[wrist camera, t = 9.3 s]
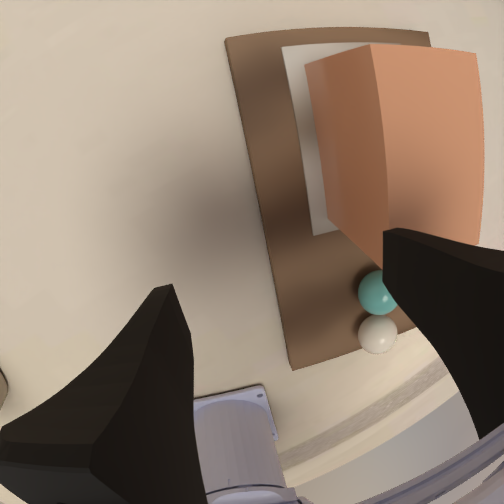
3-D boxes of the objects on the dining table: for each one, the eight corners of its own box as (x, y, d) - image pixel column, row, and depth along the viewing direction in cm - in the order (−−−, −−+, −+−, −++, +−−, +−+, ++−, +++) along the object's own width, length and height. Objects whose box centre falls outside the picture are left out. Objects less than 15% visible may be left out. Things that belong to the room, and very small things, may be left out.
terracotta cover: (404, 200, 19) (478, 243, 13) (327, 218, 19) (388, 276, 12) (391, 60, 15) (475, 53, 9) (304, 64, 15) (369, 44, 8)
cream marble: (384, 330, 24) (402, 354, 21) (351, 342, 24) (367, 368, 21) (386, 301, 23) (406, 324, 20) (351, 313, 22) (369, 338, 20)
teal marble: (387, 292, 22) (407, 315, 20) (351, 304, 22) (369, 330, 19) (388, 257, 21) (411, 278, 18) (349, 268, 21) (370, 292, 18)
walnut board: (425, 314, 26) (431, 321, 25) (289, 362, 25) (292, 372, 24) (419, 34, 15) (429, 32, 14) (224, 41, 15) (226, 37, 14)
